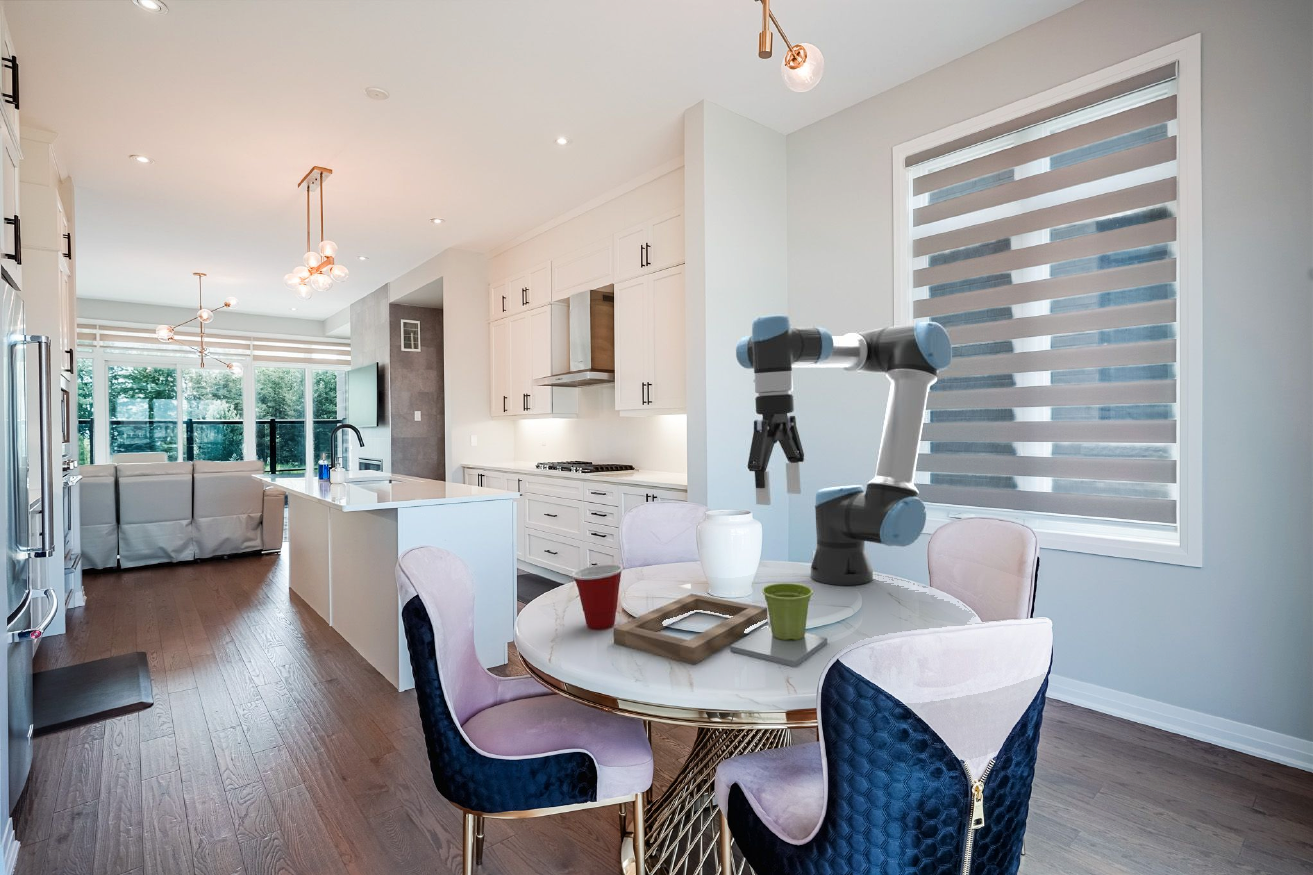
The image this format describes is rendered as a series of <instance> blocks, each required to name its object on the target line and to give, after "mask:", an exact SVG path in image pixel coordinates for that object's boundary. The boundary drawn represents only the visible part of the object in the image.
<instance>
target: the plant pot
mask: <svg viewBox="0 0 1313 875" xmlns="http://www.w3.org/2000/svg"><path fill="white" fill-rule="evenodd" d="M761 591H762V592H761V593H762V594H763V595H764V600H765V601H766V606H767V613H768V617H769V624H770V626H771V631H772V634H773V636H774V637H776V638H778V639H782V640H788V639H794V640H799V639H801V638H803V637H804V636H805V633H806V629H807V619H808V612H809V611H808V610H809V603H810V602H811V596H812V595H813V594H814V591H813V588H811V587H810V586H807V585H803V584H800V583H791V582H788V583H785V582H784V583H783V582H782V583H773V584H768V585H766V586H764V587H763V588H762V589H761Z"/></svg>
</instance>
